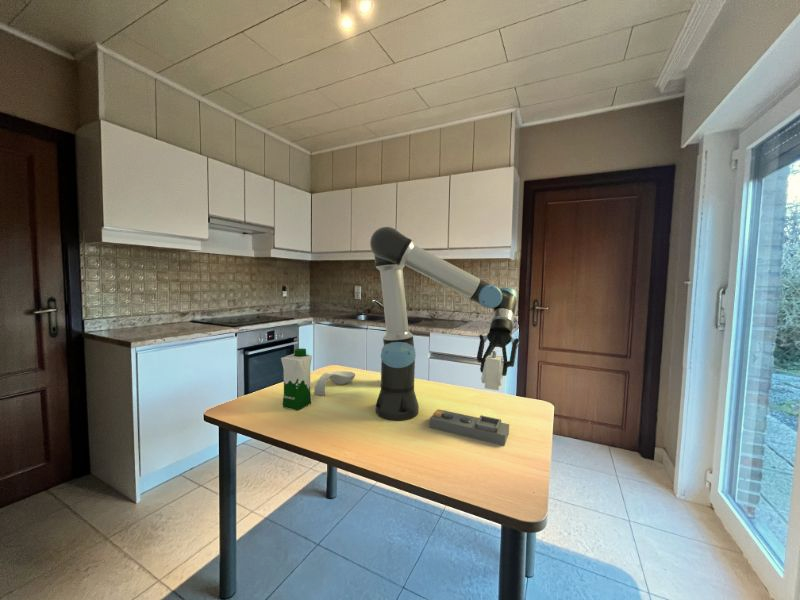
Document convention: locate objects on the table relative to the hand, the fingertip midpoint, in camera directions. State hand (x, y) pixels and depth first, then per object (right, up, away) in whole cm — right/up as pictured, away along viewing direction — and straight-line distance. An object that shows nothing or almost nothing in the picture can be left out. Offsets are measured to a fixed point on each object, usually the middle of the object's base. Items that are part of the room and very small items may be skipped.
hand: (491, 382), depth 106 cm
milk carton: (-66, -12, +14) cm, 69 cm away
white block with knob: (+2, -2, +4) cm, 5 cm away
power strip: (-8, -14, -3) cm, 17 cm away
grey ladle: (-57, -11, +35) cm, 67 cm away
